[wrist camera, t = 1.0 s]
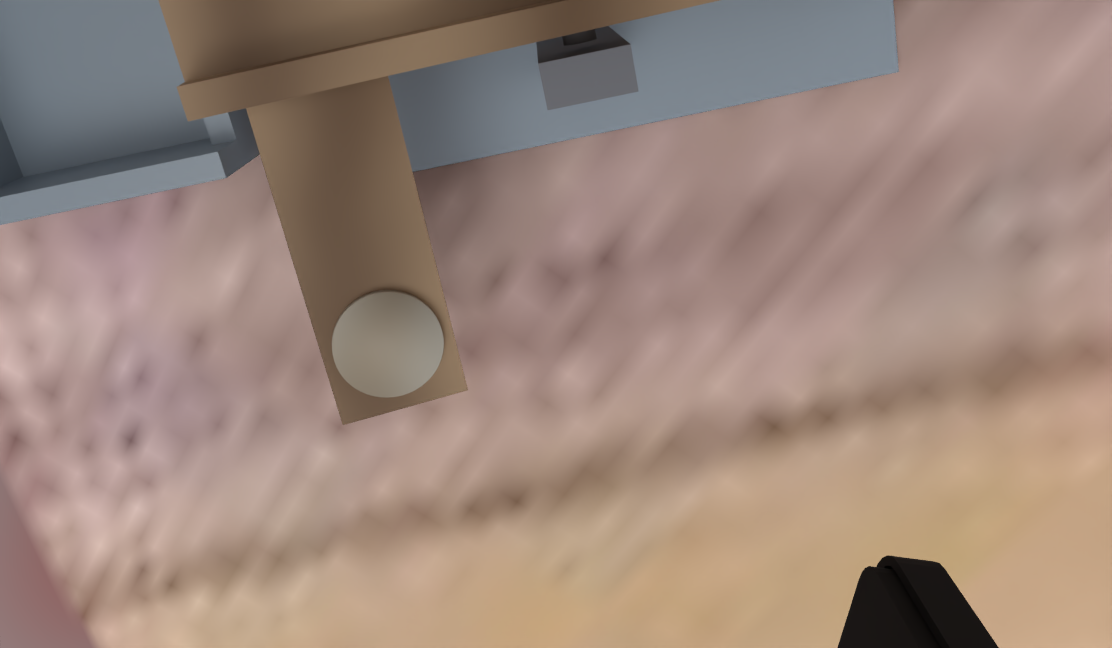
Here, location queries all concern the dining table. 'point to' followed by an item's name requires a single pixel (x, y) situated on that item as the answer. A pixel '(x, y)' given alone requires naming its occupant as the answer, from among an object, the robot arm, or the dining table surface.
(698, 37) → the fulcrum
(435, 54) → the seesaw
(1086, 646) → the dining table surface
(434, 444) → the dining table surface
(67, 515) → the dining table surface
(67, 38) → the tray
